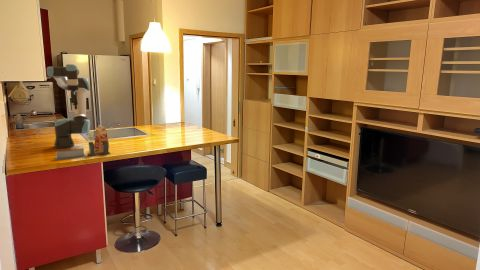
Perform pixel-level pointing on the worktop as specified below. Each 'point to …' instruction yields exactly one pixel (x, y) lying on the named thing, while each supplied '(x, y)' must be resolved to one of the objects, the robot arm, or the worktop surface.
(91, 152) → the standards
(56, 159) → the mat
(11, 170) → the worktop surface
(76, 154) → the rail
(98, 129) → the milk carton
